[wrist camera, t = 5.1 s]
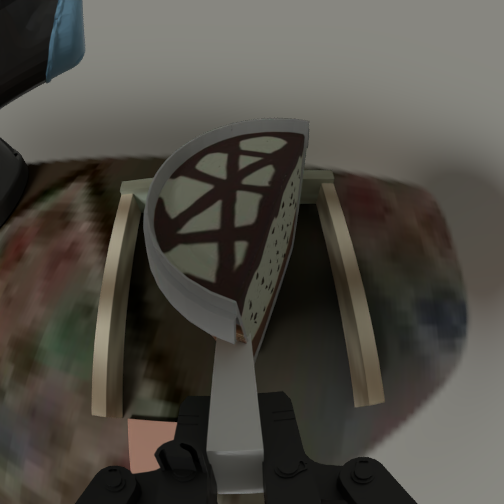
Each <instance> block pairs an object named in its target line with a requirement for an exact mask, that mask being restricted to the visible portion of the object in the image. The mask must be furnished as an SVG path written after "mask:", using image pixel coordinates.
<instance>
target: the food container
mask: <svg viewBox="0 0 504 504" xmlns="http://www.w3.org/2000/svg"><path fill="white" fill-rule="evenodd" d="M308 140H309V121H306V120H299V119H288V118H263V119H255V120H246V121H241V122H236V123H232V124H228V125H225V126H222V127H218V128H215V129H213V130H210V131H208V132H206V133H203V134H201V135H200V136H198V137H196V138H194V139H192V140H191V141H189V142H187V143H186V144H184V145H183V146H182V147H181V148H179V149H178V150H176V151H175V152H174V153H173V154H172V155H171V156H170V157H169V158H168V159H167V160H166V161H165V162H164V163H163V165H162V166H161V167H160V169H159V170H158V171H157V173H156V174H155V176H154V178H153V180H152V182H151V184H150V187H149V191H148V194H147V198H146V206H145V210H144V222H143V229H144V236H145V243H146V250H147V255H148V260H149V264H150V269H151V271H152V274H153V276H154V278H155V280H156V282H157V285H158V287H159V288H160V290H161V291H162V292H163V294H164V295H165V297H166V298H167V299H168V301H169V302H170V303H171V305H172V306H173V307H175V308H176V309H177V310H178V311H179V312H180V313H181V314H182V315H183V316H184V317H185V318H186V319H187V320H189V321H190V322H192V323H193V324H195V325H196V326H198V327H199V328H201V329H203V330H204V331H206V332H207V333H209V334H211V335H212V337H213V338H214V339H215V340H216V339H217V337H218V338H220V339H222V340H225V341H227V342H230V343H232V344H235V342H236V340H237V341H240V342H243V343H246V344H247V342H248V338H247V337H248V336H249V334H251V342H252V351H253V360H254V364H255V361H256V358H257V355H258V353H259V350H260V347H261V344H262V341H263V338H264V335H265V332H266V329H267V327H268V324H269V321H270V318H271V315H272V312H273V309H274V306H275V303H276V300H277V297H278V294H279V291H280V288H281V284H282V281H283V278H284V275H285V272H286V269H287V266H288V263H289V259H290V256H291V253H292V250H293V245H294V239H295V232H296V225H297V218H298V211H299V204H300V196H301V189H302V181H303V173H304V165H305V157H306V148H308Z"/></svg>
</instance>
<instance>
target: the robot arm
mask: <svg viewBox="0 0 504 504" xmlns="http://www.w3.org/2000/svg"><path fill="white" fill-rule="evenodd" d="M84 53H85V39H84V25H83V7H82V0H0V109H1V108H3V107H4V106H5V105H7V104H9V103H10V102H12V101H14V100H15V99H17V98H19V97H20V96H22V95H23V94H25V93H27V92H29V91H31V90H32V89H34V88H36V87H38V86H40V85H42V84H44V83H45V82H46V83H49V82H50V81H51V79H53V78H54V77H56V76H58V75H60V74H62V73H64V72H66V71H68V70H70V69H72V68H73V67H75V66H76V65H78V64H79V62H80V61H81V60H82V58H83V56H84ZM28 174H29V170H28V166H27V164H26V163H25V161H24V159H23V158H22V156H21V154H20V153H19V152H18V151H16V150H14V149H13V148H12V147H11V146H10V145H9V144H7V143H6V142H5V141H4V140H3V139H2V138H0V226H1V225H2V224H3V223H4V221H5V220H6V219H7V218H8V216H9V215H10V213H11V212H12V210H13V209H14V207H15V206H16V204H17V202H18V201H19V199H20V197H21V195H22V193H23V191H24V189H25V186H26V183H27V180H28ZM247 338H248V342H247V344H246V343H243V342H240V341H237V340H236V342H235V344H232V343H230V342H227V341H225V340H222V339H220V338H218V337H217V339H216V349H215V359H214V369H213V379H212V390H211V396H188V397H187V398H186V399H185V400H184V401H183V403H182V404H181V406H180V410H179V417H178V420H177V425H176V430H175V435H174V440H171V441H168V442H166V443H163V444H162V445H161V446H160V447H158V448H157V450H156V452H155V454H154V456H155V458H156V460H157V462H158V464H159V466H160V468H159V469H156V470H153V471H149V472H142V473H133V474H132V472H131V471H129V470H128V469H126V468H124V467H120V466H108V467H106V468H103V469H101V470H100V471H99V472H98V473H97V474H96V475H95V477H94V478H93V480H92V481H91V482H90V484H89V485H88V487H87V488H86V489H85V491H84V492H83V493H82V495H81V496H80V498H79V499H78V500H77V502H76V503H75V504H218V503H217V491H218V494H242V493H261V492H264V499H265V504H417V503H416V502H415V500H414V499H413V498H411V496H410V495H409V494H408V493H407V492H406V491H405V489H403V487H402V486H401V485H400V484H399V483H398V482H397V481H396V479H394V477H393V476H392V475H391V474H390V473H389V472H388V471H387V469H386V468H385V467H384V466H383V465H382V464H381V463H380V462H378V461H377V460H375V459H372V458H369V457H358V458H355V459H351V460H350V461H348V462H347V463H345V464H344V466H334V465H324V464H319V463H317V462H314V461H313V460H311V459H310V458H309V457H308V456H307V455H306V454H305V452H304V449H303V446H302V442H301V438H300V434H299V430H298V426H297V422H296V418H295V414H294V411H293V406H292V402H291V399H290V398H289V397H288V396H287V395H286V394H285V393H284V392H283V391H282V392H270V393H257V388H256V379H255V370H254V360H253V351H252V342H251V334H249V336H248V337H247Z"/></svg>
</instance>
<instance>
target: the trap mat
mask: <svg viewBox="0 0 504 504" xmlns="http://www.w3.org/2000/svg"><path fill="white" fill-rule="evenodd" d="M176 425H177V422H164V421H150V420H138V419H128V438H129V455H130V468H131V472H132V474H133V473H142V472H149V471H153V470H156V469H159V468H160V466H159V464H158V462H157V460H156V458H155V456H154V454H155V452H156V450H157V448H158V447H160V446H161V445H162V444H163V443H166V442H168V441H171V440H174V435H175V430H176Z"/></svg>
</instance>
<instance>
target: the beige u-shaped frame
mask: <svg viewBox="0 0 504 504" xmlns="http://www.w3.org/2000/svg"><path fill="white" fill-rule="evenodd" d="M152 180H153V178H149V179H140V180H132V181H124V182H122V185H121V188H120V192H121V194H122V195H121V199H120V203H119V207H118V211H117V215H116V219H115V223H114V227H113V231H112V236H111V240H110V245H109V250H108V255H107V260H106V265H105V270H104V276H103V282H102V288H101V295H100V301H99V309H98V317H97V325H96V335H95V346H94V359H93V377H92V415H96V416H102V417H115V418H123V358H124V340H125V326H126V314H127V304H128V295H129V286H130V278H131V271H132V264H133V257H134V251H135V244H136V238H137V233H138V227H139V222H140V216H141V213H144V210H145V206H146V198H147V194H148V191H149V187H150V184H151V182H152ZM333 182H334V176H333V173H332V170H304V173H303V181H302V189H301V196H300V204H316V206H317V210H318V214H319V218H320V222H321V226H322V230H323V234H324V238H325V242H326V246H327V251H328V255H329V260H330V264H331V269H332V273H333V278H334V283H335V288H336V292H337V297H338V303H339V308H340V313H341V318H342V324H343V330H344V335H345V341H346V347H347V354H348V360H349V367H350V374H351V381H352V388H353V396H354V404H355V407H362V406H370V405H374V404H378V403H382V402H385V399H384V392H383V385H382V378H381V372H380V366H379V360H378V354H377V349H376V343H375V338H374V333H373V328H372V323H371V318H370V314H369V309H368V305H367V300H366V296H365V292H364V287H363V283H362V279H361V275H360V271H359V267H358V264H357V260H356V256H355V252H354V249H353V245H352V242H351V238H350V235H349V231H348V228H347V225H346V221H345V218H344V215H343V212H342V208H341V205H340V202H339V199H338V196H337V193H336V190H335V187H334V184H333Z"/></svg>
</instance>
